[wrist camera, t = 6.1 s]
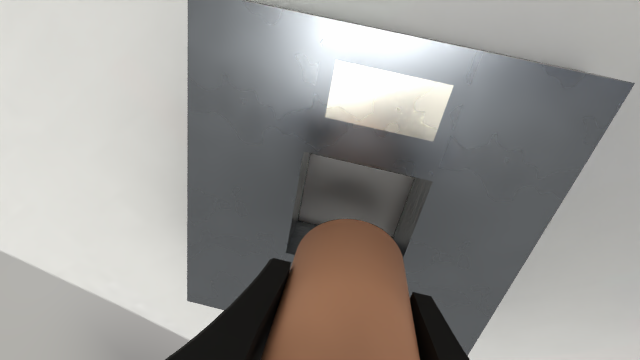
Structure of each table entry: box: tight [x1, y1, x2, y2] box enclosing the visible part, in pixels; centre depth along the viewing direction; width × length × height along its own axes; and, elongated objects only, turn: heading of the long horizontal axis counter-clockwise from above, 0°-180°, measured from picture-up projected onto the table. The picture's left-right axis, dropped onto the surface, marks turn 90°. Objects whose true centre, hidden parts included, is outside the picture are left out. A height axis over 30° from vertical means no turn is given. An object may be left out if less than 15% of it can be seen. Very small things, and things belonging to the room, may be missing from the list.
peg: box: [261, 219, 420, 360], centre depth 9 cm, size 4×4×6 cm
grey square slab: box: [187, 0, 635, 356], centre depth 16 cm, size 16×16×3 cm
